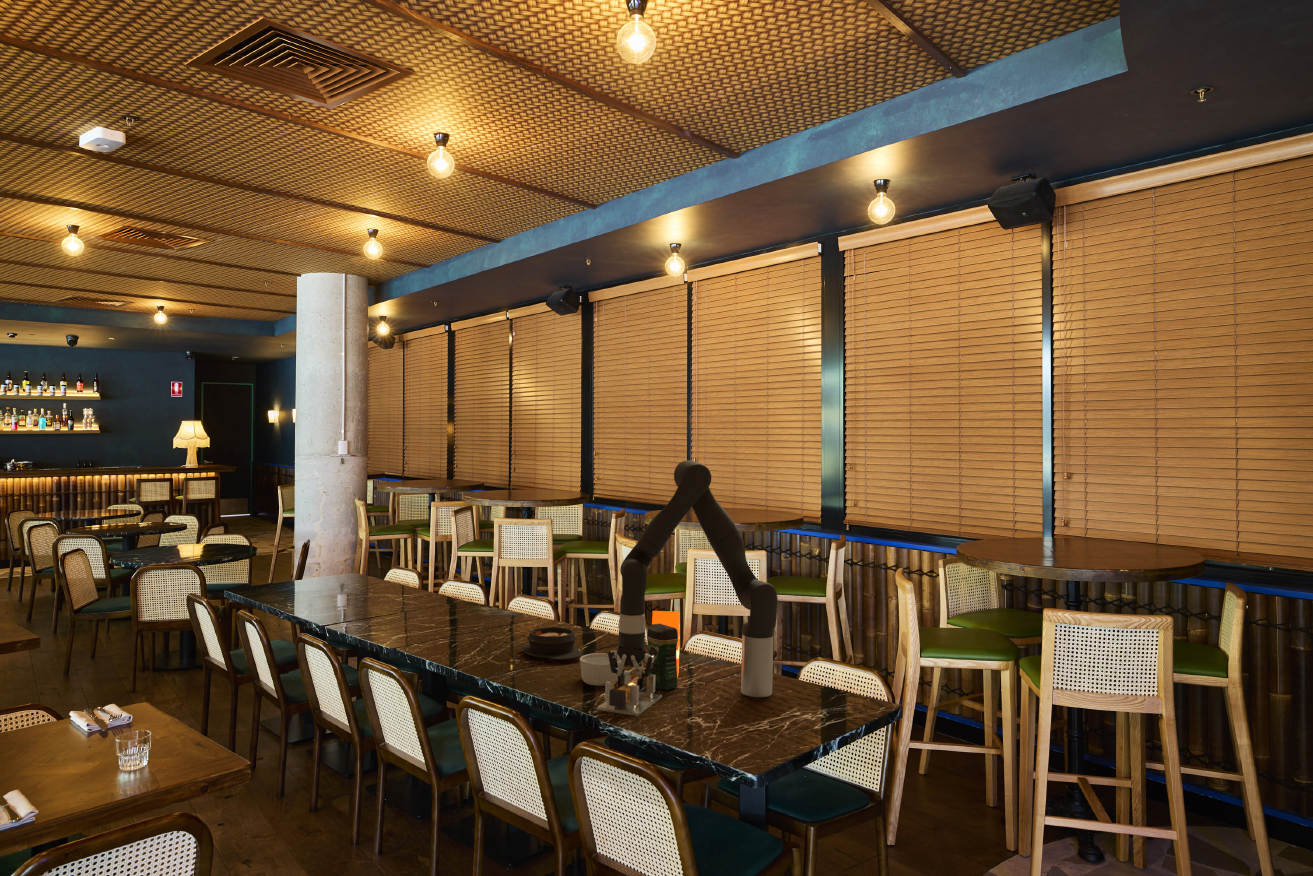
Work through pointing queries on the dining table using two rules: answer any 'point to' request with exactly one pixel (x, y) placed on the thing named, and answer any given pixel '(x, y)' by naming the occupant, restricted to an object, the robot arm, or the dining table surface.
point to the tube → (623, 693)
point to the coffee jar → (663, 654)
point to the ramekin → (597, 669)
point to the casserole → (552, 644)
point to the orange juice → (669, 620)
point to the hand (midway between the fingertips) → (630, 689)
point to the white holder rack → (632, 697)
